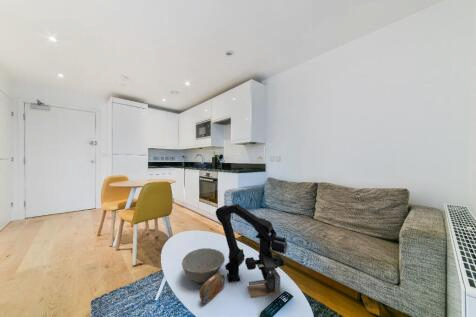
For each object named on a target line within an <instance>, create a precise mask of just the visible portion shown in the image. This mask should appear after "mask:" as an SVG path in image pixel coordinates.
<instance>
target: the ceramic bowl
mask: <svg viewBox="0 0 476 317" xmlns="http://www.w3.org/2000/svg"><path fill="white" fill-rule="evenodd" d="M225 260H226V259H225V255H224V253H223V252H221V251H220V250H218V249H215V248H209V247H208V248H206V247H205V248H198V249H195V250H192V251H190V252H188V253H187V254H186V255H185V256H184V257H183V258H182V260H181V267H182V269H183V271H184V272H185V274H186V275H187V277H188V278H189V279H190V280H191V281H193V282H195V283H197V284H202V283H205V282H206V281H207V280H209V279H210V278H211V277H212V276H214V275H215V274H216V273H219V271H220V269H221V268H222V266H223V265H224V263H225Z"/></svg>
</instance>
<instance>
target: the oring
mask: <svg viewBox="0 0 476 317" xmlns="http://www.w3.org/2000/svg"><path fill="white" fill-rule="evenodd" d="M266 279H267V280H268V283H263V284H265V286H266V288H267V290H268V292H273V287H274V278H273V277H272V275H271V272H268V274H267V276H266ZM266 279H264V278H263V280H266Z"/></svg>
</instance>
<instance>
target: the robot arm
mask: <svg viewBox="0 0 476 317" xmlns="http://www.w3.org/2000/svg"><path fill="white" fill-rule="evenodd" d="M232 214H235V215H237V216H238V217H239V218H241V219H242V220H244V221H245V222H247V223H248V224H249V225H251V226H252V227H253V228H254V230H255V231H256V232H257V234H256V235H255V236H254V237H255V238H256V239H258V240H259V241H258V243H259V244H258V245H259V246H258V255H257V256H258V259H254V257H253V256H252V257H246V255H245V254H244V249H243V248H242V249H241V248H240V247H239V245H238V243H237V240H236V235H235V232H234V229H233V225H232V221H231V219H232ZM215 216H216V218H217V220H218V221H219V223H220V224H221V225H222V230H223V232H224V236H225V241H226V242H227V248H228V250H229V251H228V262H227V263H226V264H225V265H224V268H225V270H226V271H227V273H226V277H227V281H228V283H234V282H235V283H236V282H241V277H240V266H241V265H242V264H243V263H245V266H246V269H247V270H249V271H252V270H255V269H256V268H258V270H259V271H260V272H261V275H262V279H263V280H264V279H266V276H267V274H268V272H270V273H271V271H272V272H273V271H275V269H278V268H279V267H284V266H285V263H286V262H285V259H284V258H283V257H282V256H281V254H283V255H285V254H287V249H288V242H287V238H286V237H281V236H277V235H278V234H277V232H276V230H275V229H274V227H273V223H272V222H271V221H269V220H267V219H265V218H262V217H259V216H257V215H255V214H253V213H252V212H250V211H249V210H247V209H246V208H244V207H242V205H241V204H239V203H235V204H231V205H227V204H225V205H221V206H220V207H218V208H217V209H215ZM272 251H273V252H276V253H280V254H273V252H272ZM245 257H246V258H245Z"/></svg>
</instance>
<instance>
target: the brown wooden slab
mask: <svg viewBox="0 0 476 317" xmlns="http://www.w3.org/2000/svg"><path fill="white" fill-rule="evenodd" d="M225 280H226V278H225V275H224V274H223V273H219V272H218V273H216V274H215V275H214V276H212V277H211V278H210V279H209V280H207V281H205V282H203V284H202V286H201V288H200V289H199V299H200V302H203V303H204V304H209V303H210V302H211V301H212V300H213V299H214V298H215V297H217V295H218V294H220V292H221V291H222V290H223V289H224V286H225Z"/></svg>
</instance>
